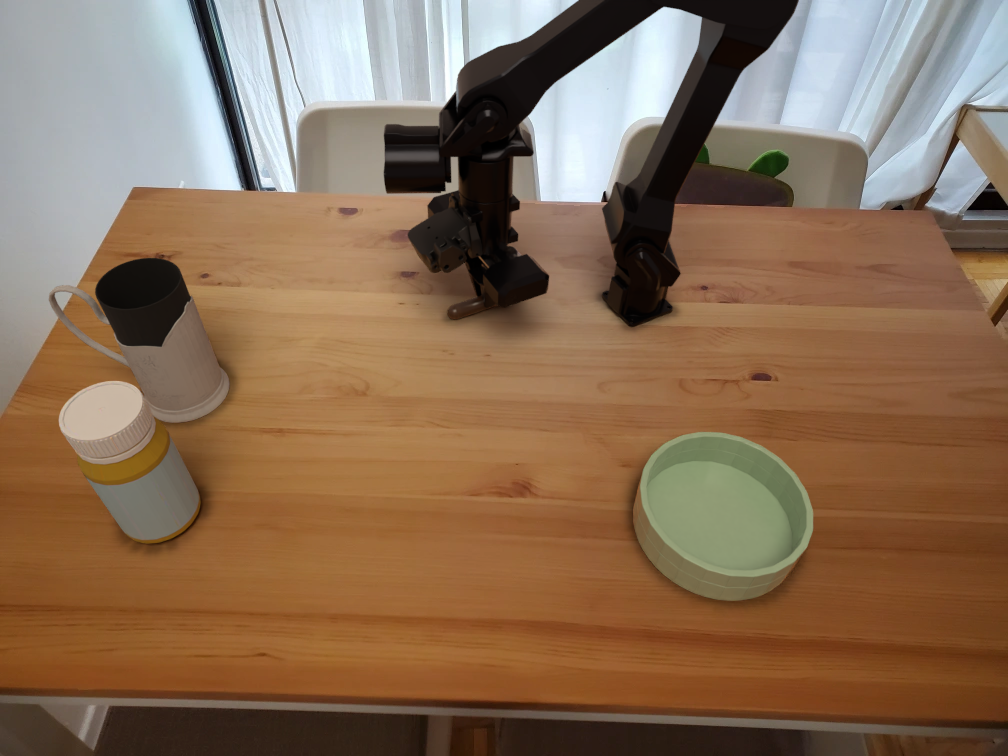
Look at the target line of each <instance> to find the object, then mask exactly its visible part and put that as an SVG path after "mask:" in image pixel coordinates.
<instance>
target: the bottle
mask: <svg viewBox="0 0 1008 756" xmlns="http://www.w3.org/2000/svg"><path fill="white" fill-rule="evenodd" d="M141 391H142V390H140V389H139V388H138V387H136V386H135V385H133V384H131V383H129V382H126V381H121V380H109V381H108V380H107V381H101V382H97V383H94V384H91V385H88V386H87V387H84V388H83V389H81V390H79V391H78V392H76V393H75V394H74V395H72V396H71V397H70V398H69V399H68V400H67V401H66V402H65V404H64V405H63V407H61V410H60V412H59V415H58V425H59V429H60V432H61V433H62V434H63V436H64V438H65V439H66V441H67V442H68V443H69V445H70V446H71V448H72V449H73V450H74V451H75V453H76V462H77V463H76V464H77V466H78V467H79V469H80V471H81V473H82V474H83V476H84V478H85V479H86V480H87V481H88V483H89V485H90V486H91V487H92V489H93V491H94V492H95V493H96V495H97V496H98V497H99V499H100V500H101V502H102V503H103V505H104V506H105V507H106V509H107V510H108V512H109V514H110V515H111V516H112V518H113V519H114V520H115V522H116V523H117V525H118V526H119V528H120V529H121V530H122V532H123V533H124V534H125V535H126V536H127V537H128V538H129V539H131V540H133V541H134V542H136V543H137V542H138V543H141V544H158V543H159V544H160V543H162V542H165V541H169V540H171V539H174V538H175V537H177V536H179V535H180V534H182V533H183V532H185V531H186V530H187V529H188V528H189V527H190V526H191V525H192V524H193V523H194V521H195V519H196V518H197V516H198V515H199V512H200V508H201V503H202V501H201V496H200V491H199V489H198V488H197V485H196V484H195V481H194V479H193V477H192V476H191V474H190V472H189V470H188V467H187V465H186V464H185V462H184V460H183V458H182V455H181V454H180V452H179V450H178V448H177V446H176V444H175V442H174V440H173V439H172V436H171V434H170V433H169V431H168V429H167V428H166V425H165V424H164V423H163V421H161V420H159V419H157V418H156V417H154V416H153V414H152V412H151V410H150V408H149V406H148V404H147V402H146V400H145V398H144V393H143V392H141Z"/></svg>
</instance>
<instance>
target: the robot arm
mask: <svg viewBox="0 0 1008 756" xmlns="http://www.w3.org/2000/svg"><path fill="white" fill-rule="evenodd" d="M799 3H800V0H577V1H575V2H574V3H573V4H572V5H570V6H569V7H567V8H566V9H564V10H563V11H562V12H560V13H559V14H558V15H556V16H555V17H553V19H551V20H550V21H548V22H547V23H546V24H544V25H543V26H542V27H540V28H539V29H538V30H536V31H535V32H533V33H532V34H531V35H528V36H527V37H525V38H523V39H521V40H519V41H515V42H512V43H506V44H502V45H499V46H497V47H494V48H493V49H490V50H488V51H487V52H484V53H483V54H480V55H478V56H476V57H475V58H473V59H470V60H469V61H468V62H466V64H465V65H464V66H462V68H461V69H460V70H459V72H458V74H457V78H456V84H455V91H454V93H453V94H451V96H450V98H449V99H448V101H447V102H446V103H445V104H444V106H443V107H442V108H441V110H440V111H439V113H438V125H403V124H399V123H387V124H385V125H384V128H383V129H384V130H383V142H384V143H383V144H384V164H383V182H384V188H385V192H386V194H387V195H388V194H391V195H392V194H393V195H394V194H398V195H399V194H405V195H406V194H440V195H436V196H433V197H432V199H431V200H430V201H429V202H428V204H427V205H426V208H427V218H426V219H424V220H423V221H421V222H419V223H417V224H416V225H415V226H412V228H411V229H409V231H408V232H407V238H408V240H409V242H410V244H411V245H412V247H413V249H414V251H415V252H416V255H417V256H418V257H419V259H420V260H421V261H422V263H423V264H424V265H425V267H426V269H427V270H428V271H429V272H430V273H432V274H438V273H441V272H442V273H444V274H450V273H452V272H453V271H454V270H457V268H459V267H461V266H462V265H465V268H466V271H467V274H468V277H469V279H470V283H471V285H472V288H473V291H474V294H475V297H477V296H480V295H482V299H483V304H484V306H485V308H488V307H491V306H493V305H494V304H495V303H496V304H497V306H496V307H500V308H508V307H511V306H513V305H518V304H519V303H523V302H525V301H528V300H532V299H534V298H537V297H540V296H543V295H546V294H547V292H548V291H549V284H550V275H549V273H548V272H547V271H546V270H545V268H543V267H542V266H541V264H540V263H539V262H538V261H537V260H536V259H535V258H534V257H533V256H531V255H529V254H528V253H524V254H521V253H520V251H519V250H518V249H517V248H516V247H515V246H513V245H511V244H514V243H516V242H519V233H518V232H517V230H516V229H515V228H514V227H513V226H512V220H513V219H512V217H513V212H517V211H519V210H520V209H521V200H519V198H517V197H516V196H515V194H514V193H513V192H514V191H513V189H514V168H515V167H514V164H515V163H514V162H515V157H517V158H518V157H519V158H520V157H523V158H524V157H525V158H526V157H527V158H529V157H532V156H533V155H534V154H535V151H534V145H533V140H532V134H531V133H530V132H528V131H527V130H526V129H524V128H523V127H522V126H521V125H520V124H521V123H522V122H523V121H525V119H527V117H529V116H530V115H531V114H532V113H533V111H534V110H535V108H536V107H537V105H538V104H539V102H541V99H542V98H543V97H544V95H545V93H547V91H549V90H550V88H551V87H553V86H554V85H555V83H556V82H558V81H560V80H561V79H563V78H564V77H565V76H567V75H568V74H569V73H571V72H573V71H574V70H576V69H577V68H578V67H580V66H581V65H582V64H585V63H586V62H587V61H588V60H590V59H591V58H593V57H594V56H596V55H597V54H598V53H600V52H601V51H603V50H604V49H605V48H607V47H608V46H610V45H611V44H612V43H614V42H616V41H617V40H619V39H620V38H621V37H623V36H624V35H626V34H627V33H628V32H630V31H631V30H633V29H634V28H636V27H638V26H639V25H640V24H641V23H643V22H644V21H645V20H647V19H648V18H650V17H651V16H652V15H654V14H656V13H657V12H659V11H660V10H662V9H663V8H667V9H673V10H674V9H675V10H679V11H683V12H686V13H689V14H692V15H695V16H697V17H699V18H701V20H700V21H701V22H700V30H699V36H698V44H697V48H696V50H695V53H694V55H693V57H692V59H691V61H690V63H689V66H688V68H687V70H686V73H685V74H684V76H683V78H682V80H681V83H680V85H679V87H678V89H677V92H676V94H675V95H674V98H673V100H672V102H671V105H670V107H669V109H668V111H667V112H666V115H665V118H664V120H663V122H662V124H661V126H660V129H659V130H658V133H657V135H656V137H655V139H654V141H653V144H652V146H651V148H650V150H649V152H648V154H647V156H646V159H645V160H644V163H643V166H642V167H641V169H640V172H639V173H638V174H637V176H636V177H635V178H634V179H632V181H630V182H628V183H627V184H623V183H622V182H618V181H615V182H614V184H613V185H612V190H611V194H610V196H609V199H608V201H606V203H605V204H604V205H603V207H602V208H601V210H602V215H603V220H604V225H605V231H606V233H607V238H608V241H609V245H610V249H611V252H612V256H613V259H614V261H615V268H614V273H613V275H612V276H611V278H610V282H609V283H610V284H609V289H608V290H605V291H603V292H602V293H601V298H602V299H603V300H604V301H605V302H606V303H607V305H609V307H610V308H611V309H612V310H613V311H614V312H615V313H616V314H617V315H618V316H619V317H620V318H621V319H622V320H623V321H624V322H625V323H626V324H627V326H629V327H635V326H639V325H641V324H644V323H646V322H648V321H651V320H653V319H656V318H659V317H662V316H665V315H667V314H669V313H672V312H673V309H674V306H673V305H672V304H671V303H670V302H669V301H668V300H667V299H666V298H667V294H668V290H669V288H671V287H673V286H674V284H675V283H676V281H677V280H678V279H679V278H680V276H681V275H682V274H681V270H680V267H679V264H678V262H677V258H676V256H675V254H674V251H673V248H672V245H671V242H670V237H671V234H672V229H673V223H674V213H675V208H676V207H675V206H676V201H677V198H678V195H679V194H680V192H681V190H682V188H683V186H684V184H685V182H686V180H687V178H688V176H689V174H690V173H691V170H692V168H693V167H694V165H695V162H696V161H697V159H698V157H699V156H700V153H701V151H702V149H703V148H704V145H705V143H706V142H707V139H708V138H709V136H710V134H711V132H712V130H713V128H714V126H715V124H716V123H717V120H718V119H719V117H720V115H721V112H722V111H723V109H724V107H725V105H726V103H727V101H728V100H729V97H730V95H731V93H732V92H733V90H734V88H735V85H736V84H737V82H738V80H739V78H740V76H741V75H742V73H743V72H744V70H745V69H746V68H747V67H749V66H750V65H751V64H752V63H754V62H755V61H756V60H758V58H760V57H761V56H763V54H765V53H766V52H767V51H768V50H770V48H771V47H772V45H773V44H774V43H775V42H776V40H777V39H778V37H779V35H780V34H781V33H782V31H783V30H784V28H785V27H786V26H787V25H788V23H789V22H790V20H791V19H792V18H793V16H794V15H795V12H796V11H797V8H798V5H799ZM452 158H457V186H458V187H457V190H454V191H450V192H447V187H446V186H447V185H446V184H452ZM442 192H446V193H444V194H443V193H442ZM441 193H442V194H441ZM491 308H492V307H491Z"/></svg>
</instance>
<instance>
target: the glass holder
mask: <svg viewBox="0 0 1008 756" xmlns="http://www.w3.org/2000/svg"><path fill="white" fill-rule="evenodd" d="M186 284H187V283H186V281H185V279H184V276H183V273H182V271H181V269H180V268H179V266H178V265H177V264H175V263H174V262H173V261H170V260H168V259H165V258H159V257H142V258H141V257H140V258H137V259H131V260H129V261H125V262H123V263H120V264H118V265H116V266H114V267H113V268H111V269H109V270H108V271H107V272H105V273H104V274H103V275H102V276H101V277H100V279H98V282H97V283H96V286H95V289H94V295H95V297H96V300H97V301H96V300H95V298H94V297H92V296H91V295H90V294H89V293H87V292H86V291H85V290H83V289H81V288H79V287H77V286H73V285H69V284H61V285H57V286H55V287H54V288H53V289H51V291H50V292H49V294H48V302H49V304H50V307H51V310H53V312H54V314H55V316H56V317H57V318H58V319H59V320H60V322H61V323H62V324H63V325H64V326H65V327H66V328H67V330H69V331H70V332H71V333H72V334H73V335H74V336H75V337H77V339H79V340H80V341H81V342H83V344H85V345H87V346H89V347H90V348H92V349H94V350H96V351H97V352H99V353H101V354H102V355H104V356H106V357H108V358H110V359H112V360H114V361H116V362H118V363H120V364H122V365H124V366H125V367H128V368H130V370H131V372H132V374H133V376H134V378H135V380H136V382H137V384H138V386H139V388H140V389H141V390H140V391H142V392H141V393H142V394H143V396H144V398H145V400H146V402H147V404H148V406H149V408H150V410H151V412H152V414H153V416H154V417H156V418H157V419H159V420H160V421H161V422H165V423H173V424H174V423H177V424H178V423H186V422H191V421H195V420H197V419H200V418H203V417H204V416H207V415H209V414H210V413H212V412H213V411H215V410H216V409H217V408H218V407H219V406H220V405H221V404H222V403H223V402H224V401H225V400H226V397H227V396H228V393H229V391H230V386H231V385H230V378H229V376H228V374H227V372H226V371H225V370H224V369H223V368H222V367H221V366H220V365H219V362H218V359H217V356H216V354H215V351H214V349H213V346H212V343H211V340H210V339H209V336H208V334H207V331H206V328H205V325H204V322H203V320H202V319H201V315H200V313H199V310H198V308H197V307H198V306H197V305H196V302H195V299H194V297H193V295H190V293H189V290H188V286H187V285H186ZM61 292H66V293H70V294H73V295H75V296H76V297H79V298H80V299H82V300H83V301H84V302H85V303H86V304H87V305H88V306H89V307H90V309H91V310H92V311H93V313H94V315H95V316H96V318H97V320H99V321H100V322H101V323H102V324H105V325H107V326H110V327H111V330H112V331H113V336H114V339H115V341H116V343H117V345H118V347H119V349H120V351H121V353H122V355H121V354H119V353H117V352H115V351H113V350H112V349H110V348H107V347H106V346H104V345H102V344H101V343H99V342H98V341H96V340H94V339H92V338H91V337H90V336H88V335H87V334H86V333H84V331H82V330H81V329H80V328H79V327H77V325H76V324H75V323H73V322H72V320H71V319H70V318H69V317H68V316H67V315H66V314H65V312H64V311H63V309H62V307H61V306H60V305H59V303H58V301H57V298H56V293H61ZM97 302H98V303H97ZM99 305H100V306H99Z"/></svg>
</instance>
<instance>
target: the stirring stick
mask: <svg viewBox="0 0 1008 756" xmlns="http://www.w3.org/2000/svg"><path fill="white" fill-rule="evenodd" d="M494 307H498V306H497V304H496V303H495V304H494V305H493V306H491V307H488V308H485V306H484V304H483V299H482V295H480V296H474V297H472V298H469V299H466V300H463V301H459V302H456V303H454V304H451V305H449V307H448V308H447V309H446V310H447V311H446V313H447V316H448V317H449V318H450V319H451V320H459V319H462V318H465V317H468V316H471V315H474V314H477V313H480V312H483V311H486V310H488V309H492V308H494Z"/></svg>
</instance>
